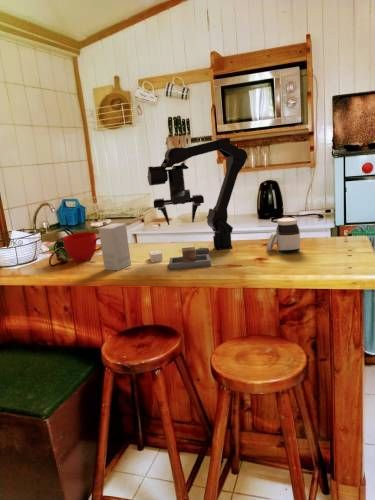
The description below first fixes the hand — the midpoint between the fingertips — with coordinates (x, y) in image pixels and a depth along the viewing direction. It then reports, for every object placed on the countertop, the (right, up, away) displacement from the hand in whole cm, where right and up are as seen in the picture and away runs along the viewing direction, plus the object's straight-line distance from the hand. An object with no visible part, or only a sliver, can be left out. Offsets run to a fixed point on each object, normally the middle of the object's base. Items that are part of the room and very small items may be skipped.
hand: (180, 223), depth 153 cm
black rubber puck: (+8, -13, -4) cm, 16 cm away
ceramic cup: (-38, -14, +9) cm, 41 cm away
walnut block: (+3, -14, -13) cm, 20 cm away
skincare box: (-23, -16, -7) cm, 29 cm away
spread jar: (+37, -11, -7) cm, 39 cm away
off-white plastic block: (-9, -14, -2) cm, 17 cm away
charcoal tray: (+3, -15, -13) cm, 20 cm away
